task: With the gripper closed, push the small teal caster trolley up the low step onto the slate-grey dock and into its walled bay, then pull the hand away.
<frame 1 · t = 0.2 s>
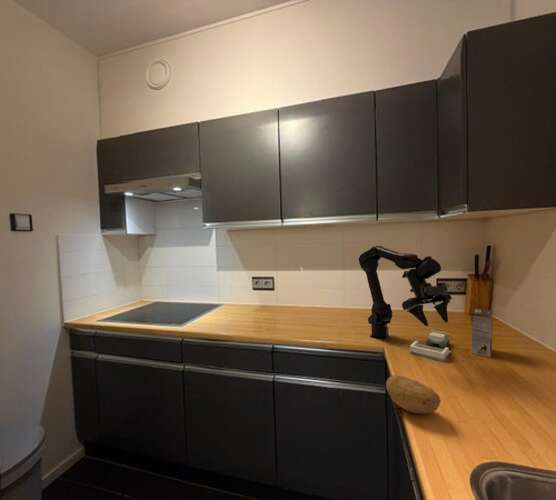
hand: (437, 324, 104), 15 cm above the worktop, tool tilted 30°, fingers open, 9 cm apart
coffee box: (481, 352, 115), on the worktop
trolley: (437, 344, 123), on the worktop
potato: (412, 410, 80), on the worktop
dock: (430, 352, 116), on the worktop
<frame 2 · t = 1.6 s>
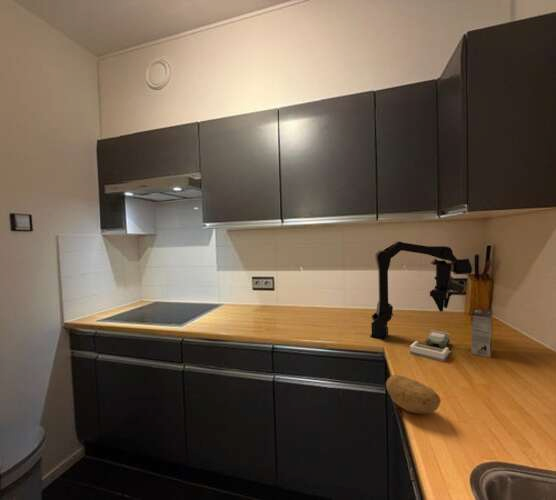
hand: (443, 309, 129), 13 cm above the worktop, tool pointing down, fingers open, 7 cm apart
nothing on the worktop moved.
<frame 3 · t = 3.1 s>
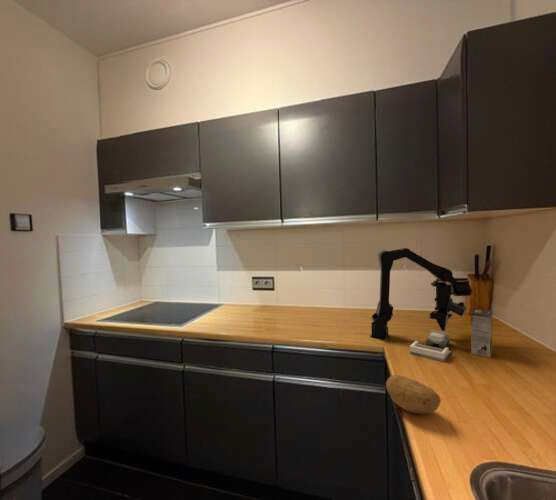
hand: (443, 330, 129), 3 cm above the worktop, tool pointing down, fingers closed
nothing on the worktop moved.
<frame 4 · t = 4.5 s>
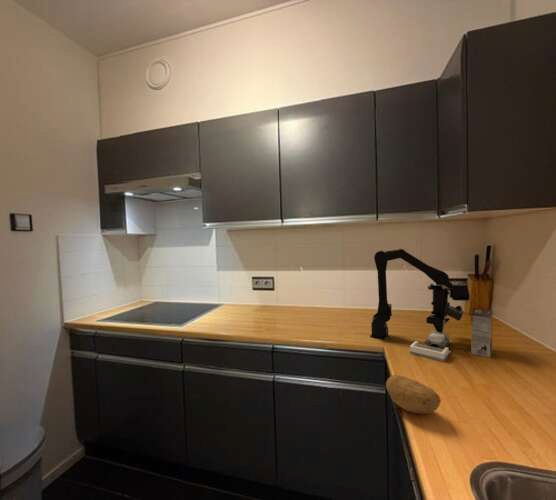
hand: (440, 335, 126), 3 cm above the worktop, tool pointing down, fingers closed
trolley: (437, 345, 122), on the worktop, touching gripper
everything else where it was.
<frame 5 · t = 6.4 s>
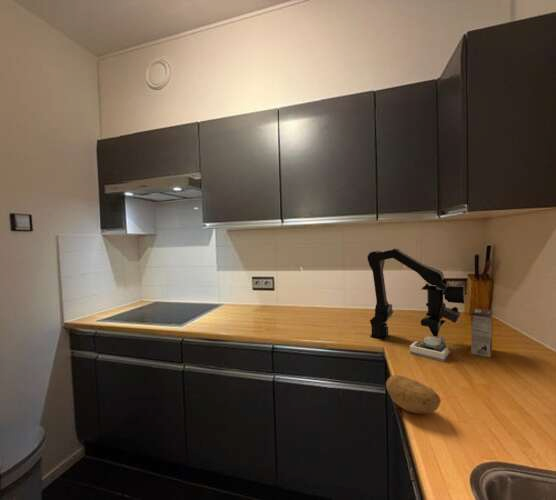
hand: (435, 338, 120), 4 cm above the worktop, tool pointing down, fingers closed
trolley: (432, 349, 116), point 1 cm above the worktop, touching dock, gripper
everything else where it was.
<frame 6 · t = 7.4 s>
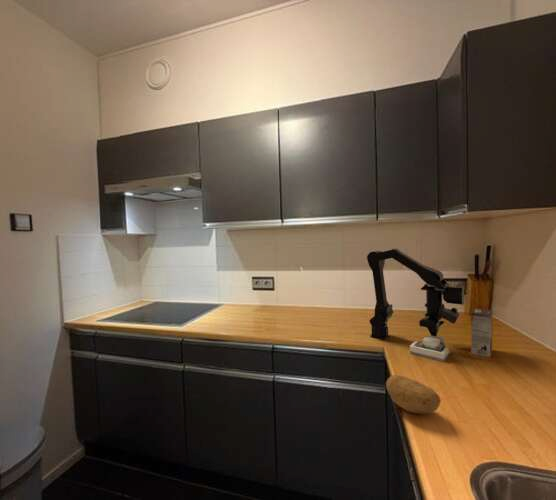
hand: (434, 339, 119), 4 cm above the worktop, tool pointing down, fingers closed
trolley: (432, 350, 115), point 1 cm above the worktop, touching dock, gripper
everything else where it was.
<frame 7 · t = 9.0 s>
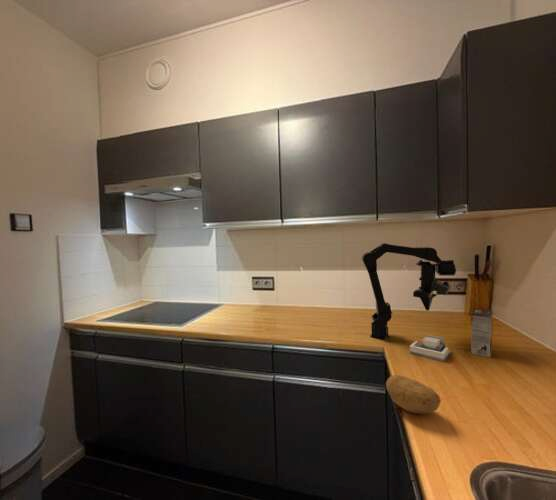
hand: (427, 310, 130), 13 cm above the worktop, tool pointing down, fingers closed
trolley: (432, 350, 115), point 1 cm above the worktop, touching dock
everything else where it was.
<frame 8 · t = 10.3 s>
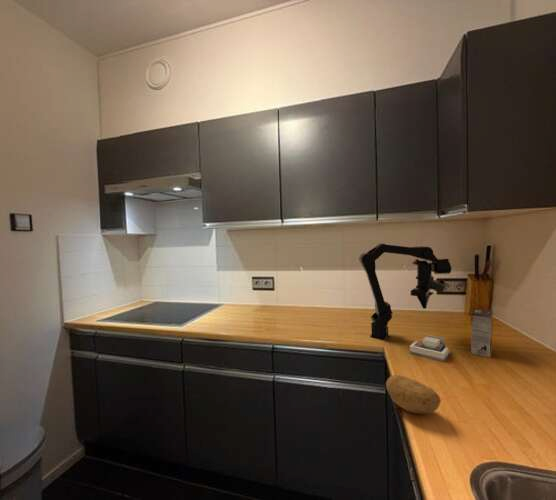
hand: (424, 308, 132), 13 cm above the worktop, tool pointing down, fingers closed
nothing on the worktop moved.
at the end: trolley 0.5 cm from the target spot, point 1.0 cm above the worktop; trolley tilted 0° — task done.
